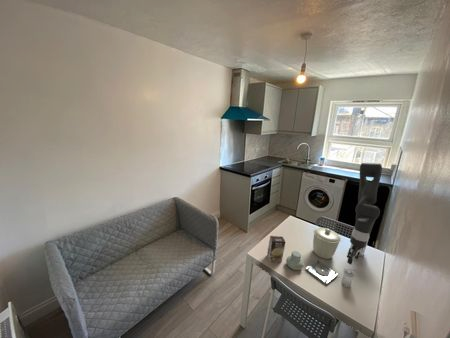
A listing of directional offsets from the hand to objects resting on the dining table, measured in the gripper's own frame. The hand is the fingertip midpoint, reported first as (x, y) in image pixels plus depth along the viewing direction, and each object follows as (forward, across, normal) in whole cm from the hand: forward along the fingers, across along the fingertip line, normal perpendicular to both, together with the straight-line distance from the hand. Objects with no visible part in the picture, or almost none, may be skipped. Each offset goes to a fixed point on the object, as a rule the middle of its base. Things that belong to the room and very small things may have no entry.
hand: (352, 260), depth 113 cm
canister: (+17, -14, -23) cm, 32 cm away
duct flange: (+17, +5, -13) cm, 22 cm away
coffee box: (+17, +22, -38) cm, 47 cm away
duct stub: (+17, 0, 0) cm, 17 cm away
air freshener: (+17, +16, -26) cm, 35 cm away
